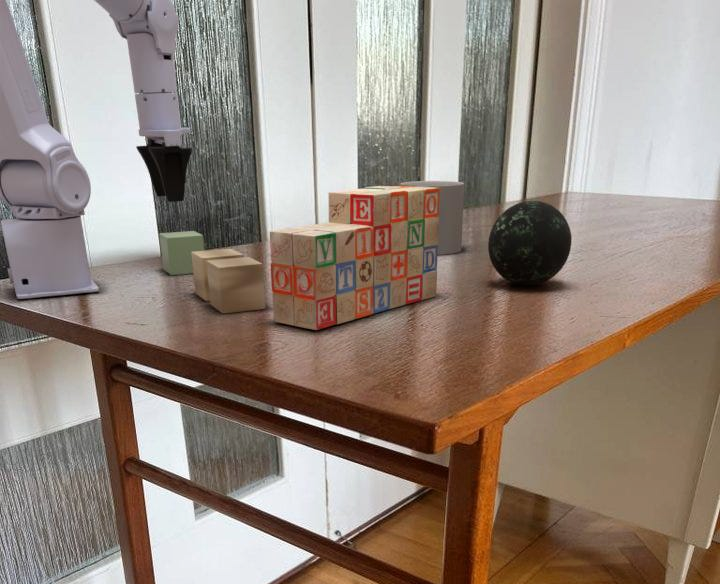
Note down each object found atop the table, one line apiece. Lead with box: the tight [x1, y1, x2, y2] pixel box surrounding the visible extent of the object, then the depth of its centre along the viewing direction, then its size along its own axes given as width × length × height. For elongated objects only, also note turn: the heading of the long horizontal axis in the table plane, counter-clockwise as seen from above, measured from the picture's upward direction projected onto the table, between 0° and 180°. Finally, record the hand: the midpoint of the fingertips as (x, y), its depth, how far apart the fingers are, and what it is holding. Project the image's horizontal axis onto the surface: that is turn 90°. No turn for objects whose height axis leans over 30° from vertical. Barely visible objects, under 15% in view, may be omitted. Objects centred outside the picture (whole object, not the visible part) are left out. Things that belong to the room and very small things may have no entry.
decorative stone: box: [487, 200, 572, 287], centre depth 93 cm, size 10×10×10 cm
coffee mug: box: [399, 180, 465, 256], centre depth 120 cm, size 13×10×10 cm
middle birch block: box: [191, 248, 245, 302], centre depth 90 cm, size 5×5×5 cm
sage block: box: [158, 230, 206, 276], centre depth 106 cm, size 5×5×5 cm
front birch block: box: [206, 256, 266, 315], centre depth 85 cm, size 5×5×5 cm
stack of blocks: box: [269, 185, 440, 331], centre depth 82 cm, size 21×6×12 cm, turn 141°
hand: (169, 198), depth 109 cm, fingers open, 7 cm apart
